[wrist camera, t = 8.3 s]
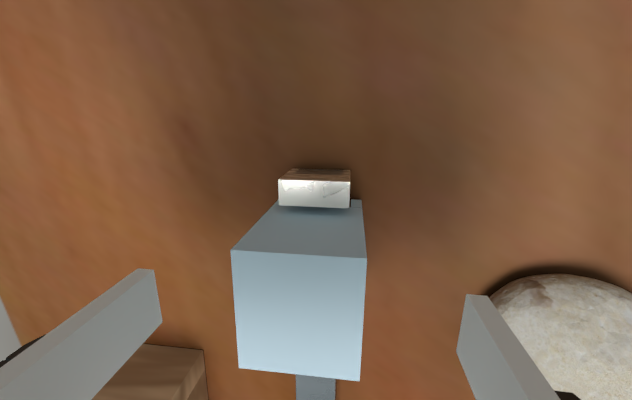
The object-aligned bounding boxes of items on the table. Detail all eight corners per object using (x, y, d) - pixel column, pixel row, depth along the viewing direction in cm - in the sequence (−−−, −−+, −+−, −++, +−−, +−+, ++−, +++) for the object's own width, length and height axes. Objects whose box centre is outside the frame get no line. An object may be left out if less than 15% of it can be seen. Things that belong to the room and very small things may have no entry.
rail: (292, 168, 20) (278, 179, 17) (350, 170, 20) (350, 181, 16) (295, 432, 27) (285, 485, 23) (339, 438, 26) (337, 493, 22)
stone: (448, 293, 27) (438, 391, 22) (527, 236, 19) (541, 367, 14) (596, 357, 25) (622, 478, 20) (748, 323, 17) (850, 506, 12)
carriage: (281, 196, 21) (230, 250, 12) (361, 199, 20) (367, 258, 12) (282, 273, 22) (238, 368, 14) (357, 278, 22) (359, 381, 13)
